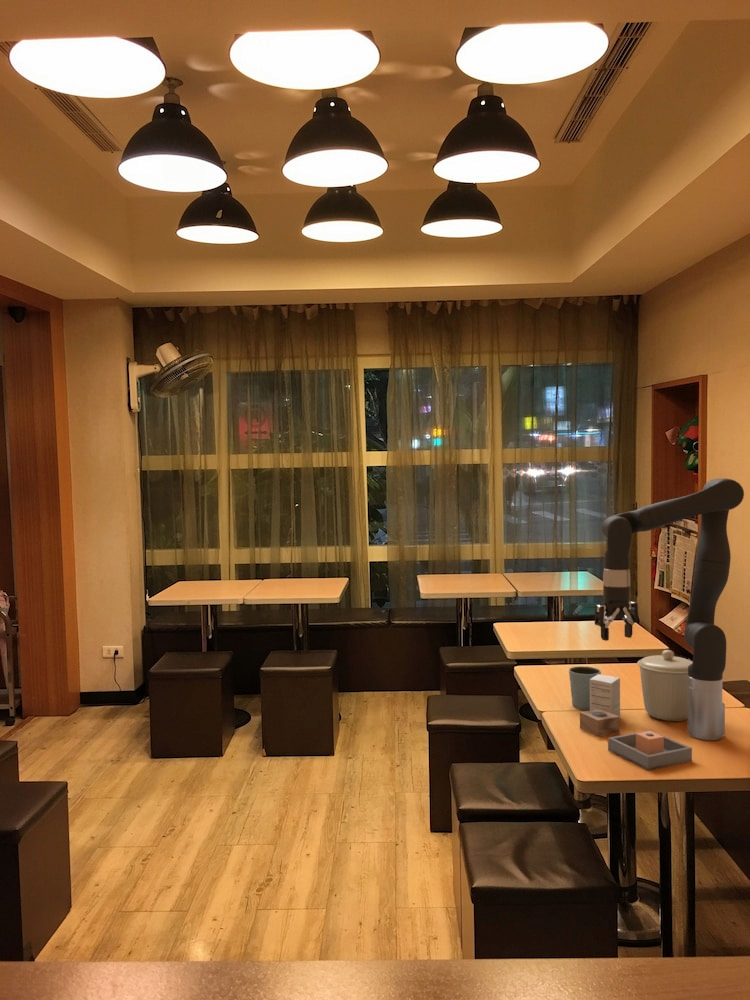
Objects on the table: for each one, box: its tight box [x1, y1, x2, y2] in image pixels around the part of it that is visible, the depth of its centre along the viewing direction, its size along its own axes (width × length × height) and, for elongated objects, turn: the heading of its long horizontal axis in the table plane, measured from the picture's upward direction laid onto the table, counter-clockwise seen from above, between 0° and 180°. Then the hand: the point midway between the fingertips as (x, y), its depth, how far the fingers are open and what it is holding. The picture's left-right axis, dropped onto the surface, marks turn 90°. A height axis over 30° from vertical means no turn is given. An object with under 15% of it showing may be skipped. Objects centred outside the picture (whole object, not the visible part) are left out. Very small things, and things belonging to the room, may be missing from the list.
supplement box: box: [589, 674, 621, 718], centre depth 222 cm, size 7×7×13 cm
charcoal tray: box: [607, 729, 693, 772], centre depth 192 cm, size 15×15×4 cm
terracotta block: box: [635, 730, 664, 755], centre depth 192 cm, size 5×5×5 cm
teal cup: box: [568, 665, 602, 711], centre depth 234 cm, size 10×10×12 cm
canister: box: [636, 649, 693, 722], centre depth 223 cm, size 18×18×21 cm
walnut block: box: [579, 709, 620, 737], centre depth 211 cm, size 8×8×5 cm
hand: (616, 638), depth 208 cm, fingers open, 8 cm apart
